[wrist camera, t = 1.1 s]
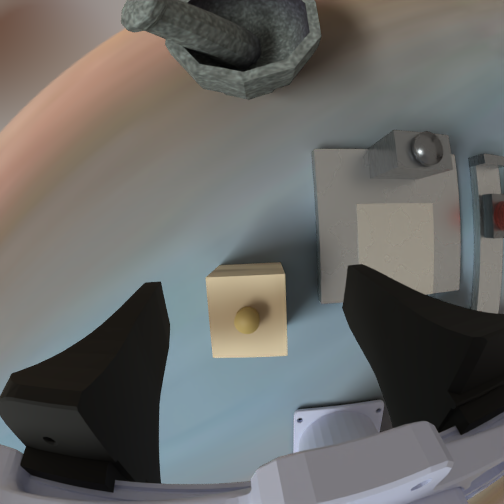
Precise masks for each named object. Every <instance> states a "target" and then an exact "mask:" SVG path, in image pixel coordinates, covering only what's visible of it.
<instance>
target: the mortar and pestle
mask: <svg viewBox="0 0 504 504" xmlns="http://www.w3.org/2000/svg"><path fill="white" fill-rule="evenodd" d="M121 23H122V24H123V26H124V27H125V28H126V29H127V30H128V31H131V32H139V31H147V32H149V33H152V34H155V35H157V36H159V37H162V38H164V39H166V42H165V45H166V47H167V48H168V50H169V52H170V54H171V55H172V56H173V57H174V58H175V59H176V60H177V61H178V62H179V63H180V64H181V66H182V67H183V68H184V69H185V70H186V71H187V72H188V73H189V74H190V75H191V76H192V77H193V79H194V80H195V81H196V82H197V83H198V84H199V85H200V86H201V87H202V88H203V89H207V90H212V91H217V92H222V93H224V94H226V95H231V96H235V97H240V98H244V99H252V98H255V97H258V96H262V95H265V94H268V93H271V92H273V91H274V90H275V89H276V88H279V87H283V86H286V85H289V84H290V83H291V81H292V80H293V79H294V78H295V76H296V75H297V74H298V73H299V71H300V70H301V69H302V68H303V66H304V65H305V64H306V63H307V61H308V60H309V59H310V58H311V56H312V55H313V53H314V52H315V50H316V49H317V47H318V46H319V42H320V39H321V30H320V24H319V18H318V13H317V7H316V2H315V1H314V0H127V1H126V3H125V5H124V7H123V9H122V15H121Z"/></svg>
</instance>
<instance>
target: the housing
mask: <svg viewBox="0 0 504 504" xmlns="http://www.w3.org/2000/svg"><path fill="white" fill-rule="evenodd" d="M206 286H207V298H208V310H209V321H210V332H211V343H212V353H213V358H238V357H270V356H287V318H286V287H285V273H284V270H283V267H282V265H281V262H276V263H256V264H235V265H219V266H218V267H217V268H216V269H215V270H214V271H213V272H211V273H210V274H209V275H208V276H207V277H206Z"/></svg>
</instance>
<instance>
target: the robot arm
mask: <svg viewBox="0 0 504 504" xmlns="http://www.w3.org/2000/svg"><path fill="white" fill-rule="evenodd" d="M342 308H343V311H344V314H345V317H346V320H347V322H348V325H349V327H350V329H351V331H352V333H353V335H354V337H355V338H356V340H357V342H358V344H359V346H360V347H361V349H362V351H363V353H364V354H365V356H366V358H367V360H368V362H369V364H370V365H371V367H372V369H373V371H374V373H375V375H376V378H377V380H378V383H379V386H380V388H381V391H382V393H383V396H384V399H385V402H386V405H387V408H388V411H389V415H390V418H391V422H392V425H393V429H389V430H386V431H383V432H380V428H381V422H382V416H383V410H384V402H383V401H382V400H374V401H367V402H361V403H354V404H346V405H338V406H329V407H319V408H308V409H298V410H296V411H295V412H294V445H293V453H292V454H288V455H285V456H281V457H277V458H275V459H274V460H272V461H270V462H268V463H266V464H264V465H262V466H260V467H259V468H258V469H257V470H256V472H255V473H254V475H253V476H252V478H251V481H247V482H236V483H220V484H161V479H160V464H159V403H160V394H161V388H162V382H163V377H164V371H165V366H166V360H167V355H168V349H169V338H170V322H169V318H168V313H167V309H166V304H165V300H164V295H163V290H162V285H161V282H148V283H145V284H143V285H142V286H141V287H140V288H139V289H138V290H137V291H136V292H135V293H134V294H133V295H132V296H131V297H130V298H129V299H128V300H127V301H126V302H125V303H124V304H123V305H122V306H121V307H120V308H119V309H118V310H117V311H116V312H115V313H114V314H113V315H112V316H111V317H109V318H108V319H107V320H106V321H105V322H104V323H103V324H102V325H101V326H99V327H98V328H97V329H96V330H94V331H93V332H92V333H90V334H89V335H88V336H86V337H85V338H83V339H82V340H81V341H79V342H77V343H76V344H74V345H73V346H71V347H69V348H68V349H66V350H64V351H63V352H61V353H59V354H57V355H55V356H53V357H52V358H49V359H47V360H45V361H43V362H41V363H39V364H36V365H34V366H31V367H29V368H26V369H23V370H21V371H18V372H15V373H12V374H11V376H10V378H9V380H8V382H7V384H6V386H5V388H4V390H3V392H2V394H1V396H0V416H1V418H2V419H3V420H4V422H5V423H6V424H7V426H8V427H9V428H10V429H11V430H12V431H13V433H14V434H15V435H16V436H17V437H18V438H19V439H20V440H21V441H22V443H23V444H24V445H25V446H26V448H25V451H24V454H23V453H21V452H19V451H18V450H16V449H13V448H10V447H7V446H4V445H1V444H0V504H468V502H467V500H468V499H470V498H471V497H473V496H475V495H476V494H478V493H479V492H481V491H482V490H484V489H485V488H487V487H488V486H489V485H491V484H492V483H494V482H495V481H497V480H498V479H499V478H501V477H502V476H503V475H504V314H496V313H488V312H482V311H477V310H472V309H467V308H464V307H460V306H456V305H453V304H449V303H446V302H443V301H441V300H438V299H435V298H432V297H430V296H427V295H425V294H423V293H420V292H418V291H416V290H414V289H412V288H410V287H408V286H406V285H404V284H402V283H400V282H398V281H396V280H394V279H392V278H390V277H388V276H386V275H384V274H382V273H380V272H379V271H377V270H375V269H373V268H370V267H368V266H366V265H363V264H356V265H348V268H347V277H346V285H345V293H344V300H343V307H342ZM378 408H380V409H379V410H378V411H376V410H377V409H378ZM299 418H302V420H297V419H299Z"/></svg>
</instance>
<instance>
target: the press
mask: <svg viewBox="0 0 504 504" xmlns="http://www.w3.org/2000/svg"><path fill="white" fill-rule="evenodd" d="M312 165H313V178H314V193H315V210H316V229H317V254H318V294H319V301H320V303H321V304H327V303H341V302H343V300H344V293H345V285H346V277H347V268H348V265H356V264H363V265H366V266H368V267H370V268H373V269H375V270H377V271H379V272H380V273H382V274H384V275H386V276H388V277H390V278H392V279H394V280H396V281H398V282H400V283H402V284H404V285H406V286H408V287H410V288H412V289H414V290H416V291H418V292H420V293H423V294H425V295H426V294H433V293H440V292H448V291H456V290H459V284H460V251H461V241H460V209H459V193H458V181H457V172H456V163H455V155H452V154H451V149H450V143H449V136H448V135H442V134H433V133H431V132H427V131H425V132H413V131H400V130H393V131H392V132H390V133H389V134H387V135H386V136H385V137H383V138H382V139H381V140H379V141H378V142H376V143H375V144H374V145H372V146H371V147H370V148H368V149H314V150H313V151H312Z"/></svg>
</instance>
